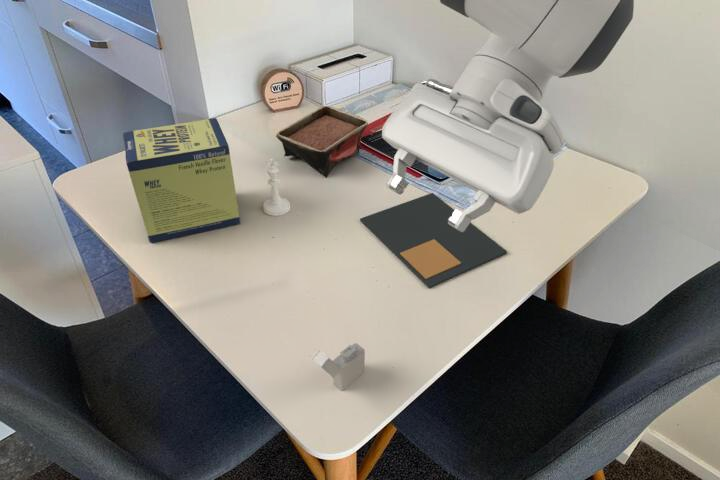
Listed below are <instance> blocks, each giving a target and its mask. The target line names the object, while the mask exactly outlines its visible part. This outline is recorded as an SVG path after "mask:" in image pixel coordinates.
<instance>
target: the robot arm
mask: <svg viewBox="0 0 720 480" xmlns="http://www.w3.org/2000/svg"><path fill="white" fill-rule="evenodd" d="M439 2H440V4H441V5H444V6H445V7H447V8H449V9H450V10H453V11H454V12H456V13H458V14H460V15H462V16H464V17H465V18H469V19H471V20H473V21H474V22H476V23H477V24H478V25H480V26H482V27H483V28H485V29H486V30H488V31H489V32H490V35H489V37H488V39H487V40H486V42H485V44H484V45H483V46H482V47H480V48H479V49H478V50H477V51H476V52H475V53H474V54H473V56H472V58H471V59H470V60H469V62H468V63H467V65H466V67H465V68H464V70H463V71H462V73H461V75H460V76H459V78H458V79H457V81H456V83H455V84H454V86H452V85H449V84H446V83H441V82H440V81H438V79H437V80H436V79H434V78H428V79H427V80H422V81H420V82H416V83H415V84H414V85H413V86H412V87H411V89H410V90H409V93H408V94H407V95H406V96H405V97H404V98H403V99H402V100H401V101H400V103H399V104H398V105H397V106H396V108H395V109H394V110H393V111H392V113H391V114H390V115H389V117H388V118H387V120H386V121H385V122H384V124H383V126H382V127H381V138H382V139H383V140H384V141H385V142H386V143H387V144H388V145H390V146H391V147H392V148H394V149H395V150H397V151H396V153H395V154H394V156H393V165H392V174H391V176H390V177H389V179H388V181H387V182H386V188H388V189H389V190H391V191H392V192H394V193H396V194H397V195H402V194H404V192H405V189H407V187H408V186H409V183H410V182H408V181H407V180H405V179H406V173H407V167H410V168H411V167H412V166H413V164H414V163H415V161H418V162H420V163H422V164H423V165H425V166H427V167H429V168H431V169H433V170H435V171H436V172H439V173H441V174H442V175H444V176H446V177H448V178H450V179H451V180H453V181H455V182H457V183H459V184H461V185H463V186H464V187H467V188H468V189H470V190H471V191H474V192H476V194H475V195H474V196H473V200H474V201H475V202H474V203H472V204H471V205H469V206H468V207H466V208H465V209H464V210H462V211H461V210H459V209H457V208H454V212H453V213H452V217H450V218H449V220H448V224H449V225H451V226H452V227H454V228H455V229H457V230H459V231H460V232H464V231H465V229H466V228H467V226H468V225H469V223H472V221H474V220H476V219H478V218H480V217H481V216H483V215H485V214H487V213H488V212H490V211H492V209H493V208H494V205H495V204H498V205H500V206H502V207H504V208H506V209H507V210H509V211H512V212H513V213H515V214H517V215H521V214H524V213H525V212H528V211H531V209H532V208H534V206H535V204H536V203H537V201H538V200H539V198H540V196H541V195H542V193H543V191H544V189H545V187H546V185H547V184H548V181H549V179H550V177H551V175H552V173H553V170H554V167H555V166H554V165H555V162H554V161H555V160H554V157H553V155H556V154H558V152H560V151H561V149H562V148H563V146H564V145H565V143H566V141H565V137H564V134H563V130H562V129H561V127H560V125H559V123H558V121H557V120H556V118H555V116H554V115H553V113H552V112H551V111H550V110H549V108H547V107H546V106H544V105H543V103H541V101H542V99H543V97H544V95H545V91H546V88H547V86H548V84H549V82H550V80H551V79H552V78H553V77H558V78H559V79H561V78H562V79H563V78H571V77H574V76H579V75H583V74H584V75H585V74H588V73H592V72H594V71H596V70H597V69H598V68H599V67H600V66H601V65H602V64H603V63H604V61H605V60H606V59H607V58H608V56H609V55H610V53H611V52H612V51H613V49H614V48H615V46H616V44H617V43H618V41H619V40H620V39H621V37H622V36H623V34H624V33H625V31H626V29H627V28H628V26H630V23H631V22H632V20H633V18H634V9H635V7H634V6H635V0H439Z"/></svg>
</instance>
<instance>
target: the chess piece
mask: <svg viewBox="0 0 720 480" xmlns="http://www.w3.org/2000/svg"><path fill="white" fill-rule="evenodd" d="M269 161H270V162H266V167H268V168H267V169H266V173H267V174H268V176H269V179H268V181H267V184H268V185H270V186H271V197H270V198H267V199H266V200H265V201H264V202H263V205H262V206H263V207H262V211H263V212H264V213H265V214H266V215H268V216H275V217H276V216H283V215H286V214H287V213H288V212H289V211H290V210H291V203H290V201H289V199H287V198H285V197H282V196H281V195H280V191H279V187H278V185H280V184H281V180H280V179H279V178H278V174H279V171H280V169H279V168H278V167H277V166H278V162H277V161H274V159H273V158H270V160H269Z"/></svg>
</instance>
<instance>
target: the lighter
mask: <svg viewBox="0 0 720 480" xmlns="http://www.w3.org/2000/svg"><path fill="white" fill-rule="evenodd" d="M365 355H366V349H365V348H364V347H363V346H361V345H359V344H358V343H357V342H356V343H353V344H352V345H351V344H349V345H348V346H347V347H345V348H344V349H343V350H342V351H340V354H339V355H338V356H336V358H334V359H333V360H332V359H331V358H330V357H329V356H327V355H326V354H325V353H324V352H323V351H322V350H318V351H317V353H316V354H315V356H313V358H312V361H313V362H314V363H316V364H317V365H318V366H319V367H320V368H321V369H323V371H324V372H326V373H327V374H328V375H330V376H331V378H332V384H333V385H334V386H335V387H336V388H337V389H339V390H340V391H344V390H346V388H348V387H349V386H350V385H352V384H353V383H354V382H355V381H356V380H358V379H359V378H360V377H361V376H362V375H364V374H365V359H366V357H365Z"/></svg>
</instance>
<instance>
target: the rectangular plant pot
mask: <svg viewBox="0 0 720 480" xmlns="http://www.w3.org/2000/svg"><path fill="white" fill-rule="evenodd" d="M368 125H369V121H368V120H366V119H365V118H363V117H360V116H359V115H356V114H354V113H351V112H348V111H346V110H343V109H339V108H336V107H334V106H329V105H322V106H320V107H319V108H316V109H315V110H313V111H311V112H310V113H308V114H307V115H305V116H303V117H301V118H300V119H298V120H296V121H294V122H292V123H291V124H289V125H288V126H286V127H284V128H282V129H281V130H279V131H278V132H276V135H275V137H276V138H277V140H279V142H280V143H281V144H282V147H283V150H284V155H283V157H296V156H297V157H298V158H300V159H301V160H302V161H303V162H305V163H306V164H307V165H308V166H309V167H311V169H313V170H314V171H316V172H317V173H319V174H320V175H322V176H323V177H325V178H328V176H329V174H330V173H331V171H332V170H333V169H334V168H335V166H336V165H338V163H340V161H341V160H342V159H343V160H344V159H349V158H351V157H352V156H354V155H356V154H357V155H360V146H359V142H360V140H361V137H362V135H363V133H364V132H365V130H366V128H367V127H368Z"/></svg>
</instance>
